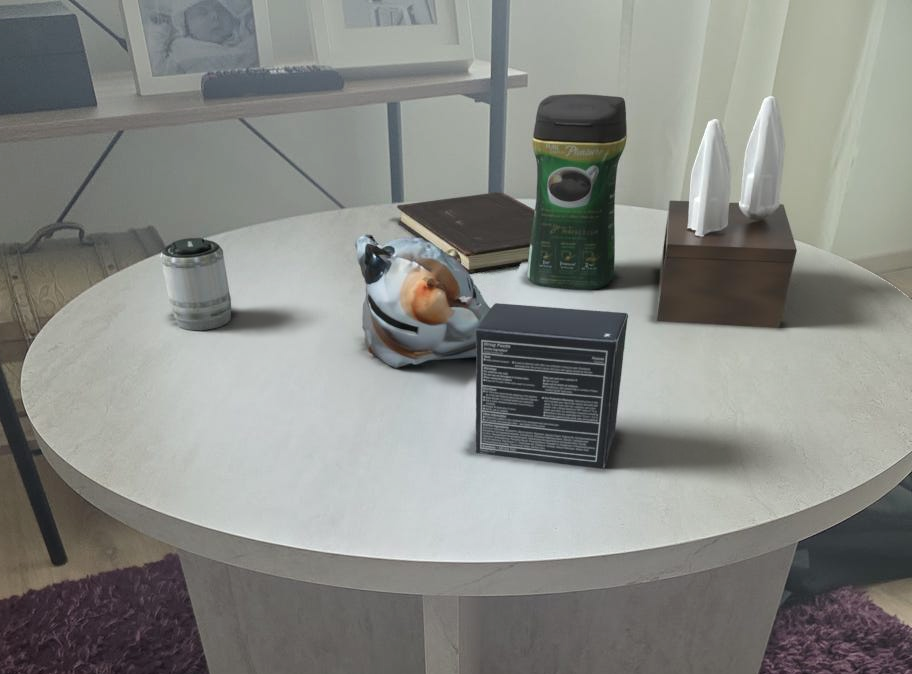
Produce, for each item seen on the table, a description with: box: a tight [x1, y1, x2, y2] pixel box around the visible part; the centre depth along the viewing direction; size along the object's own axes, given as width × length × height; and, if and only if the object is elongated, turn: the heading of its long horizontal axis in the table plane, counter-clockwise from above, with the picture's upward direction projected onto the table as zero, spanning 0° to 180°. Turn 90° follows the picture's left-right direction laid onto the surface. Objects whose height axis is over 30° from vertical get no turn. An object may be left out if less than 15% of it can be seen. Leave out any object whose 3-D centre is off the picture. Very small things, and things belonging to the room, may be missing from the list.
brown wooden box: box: [656, 200, 798, 329], centre depth 96 cm, size 12×16×8 cm
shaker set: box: [687, 95, 786, 237], centre depth 89 cm, size 12×4×11 cm, turn 118°
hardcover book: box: [396, 191, 535, 274], centre depth 117 cm, size 16×23×2 cm
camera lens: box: [159, 237, 232, 331], centre depth 94 cm, size 6×6×8 cm
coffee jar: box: [527, 93, 628, 291], centre depth 98 cm, size 10×8×19 cm
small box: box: [474, 302, 629, 470], centre depth 70 cm, size 11×6×10 cm, turn 73°
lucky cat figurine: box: [354, 233, 491, 369], centre depth 84 cm, size 15×12×14 cm
